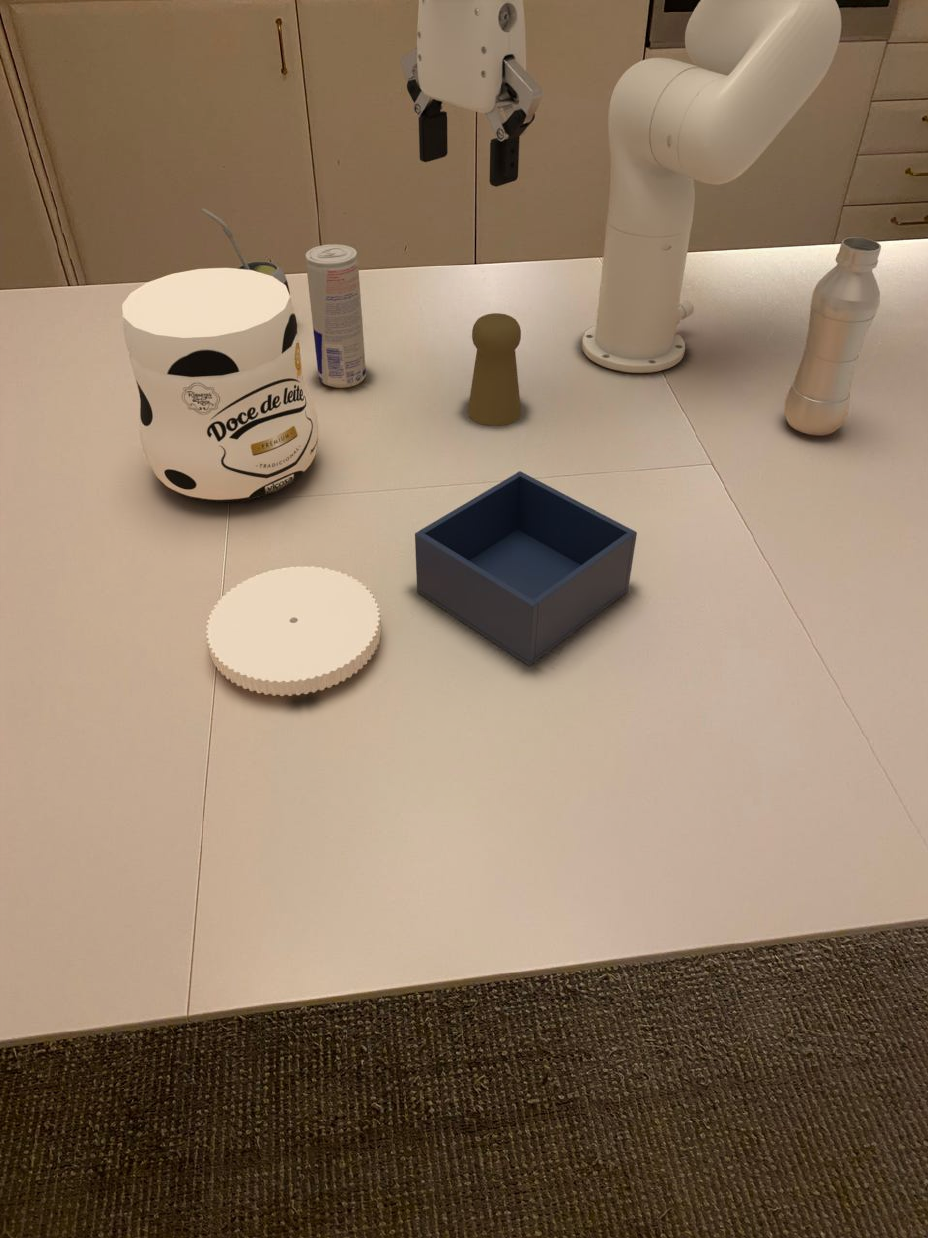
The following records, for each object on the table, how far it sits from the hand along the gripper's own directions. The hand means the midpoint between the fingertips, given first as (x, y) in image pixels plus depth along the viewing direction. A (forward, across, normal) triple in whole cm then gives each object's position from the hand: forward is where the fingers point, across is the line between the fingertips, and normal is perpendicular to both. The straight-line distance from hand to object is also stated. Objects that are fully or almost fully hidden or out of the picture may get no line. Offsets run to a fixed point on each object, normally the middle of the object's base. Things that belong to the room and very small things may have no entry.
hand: (467, 170), depth 91 cm
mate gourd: (+25, +31, +6) cm, 41 cm away
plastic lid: (+25, -19, +37) cm, 49 cm away
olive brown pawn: (+25, -3, -1) cm, 26 cm away
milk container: (+25, +7, +26) cm, 37 cm away
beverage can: (+25, +14, +7) cm, 30 cm away
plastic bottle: (+25, -30, -24) cm, 46 cm away
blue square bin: (+25, -27, +19) cm, 42 cm away
